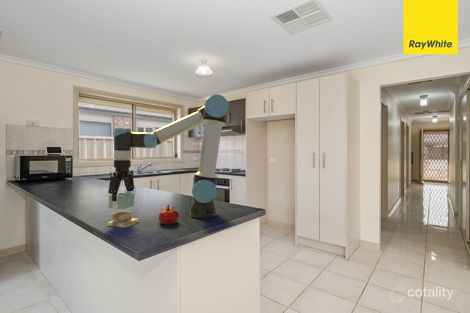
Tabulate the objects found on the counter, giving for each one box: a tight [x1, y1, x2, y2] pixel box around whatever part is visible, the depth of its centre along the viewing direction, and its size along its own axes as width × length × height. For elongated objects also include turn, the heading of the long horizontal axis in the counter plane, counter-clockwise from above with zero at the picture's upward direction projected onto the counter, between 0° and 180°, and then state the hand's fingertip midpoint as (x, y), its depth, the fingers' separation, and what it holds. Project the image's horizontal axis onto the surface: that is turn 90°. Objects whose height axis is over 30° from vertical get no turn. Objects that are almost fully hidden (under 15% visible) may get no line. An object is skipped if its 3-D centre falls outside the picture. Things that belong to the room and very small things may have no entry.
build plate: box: [107, 210, 140, 228], centre depth 120 cm, size 10×10×6 cm
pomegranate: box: [158, 204, 180, 226], centre depth 122 cm, size 10×10×9 cm
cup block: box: [108, 191, 135, 210], centre depth 120 cm, size 8×8×6 cm
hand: (121, 205), depth 120 cm, fingers closed on cup block, 8 cm apart
